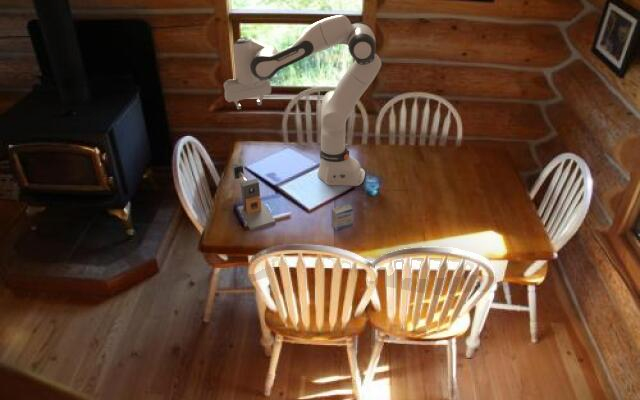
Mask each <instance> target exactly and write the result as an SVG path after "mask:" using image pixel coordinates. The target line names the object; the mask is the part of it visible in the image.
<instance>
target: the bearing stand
mask: <svg viewBox="0 0 640 400" xmlns="http://www.w3.org/2000/svg"><path fill="white" fill-rule="evenodd" d="M240 189H241V190H240V192H241V199H242V205H239V206H237V210H238V209H239V211H240V212H241V214H242V216H243V217H244V219H245V221H246V222H247V224H248V225H247V224H246V225H247V227H248V229H249V230H250V232H252V231H256V230H259V229H262V228H265V227H268V226H273V225H276V223H277V222H276V219H275V218H274V217H273V215H272V213H271V211H269V209H268V208H267V206H266V205H265V203H264V202H263V200H261V210H260V211H257V212H253V213H250V214H248V213H247V210H246V200H245V199H248V198H251V197H255V196H258V195H259V196H260V197H261V192H260V191H261V190H260V182H259V181H258V179H257V178H253V179H250V180H247V181H246V182H240ZM249 189H251V190H249ZM254 206H256V202H255V203H251V207H254ZM239 211H238V212H239ZM240 212H239V213H240ZM241 214H240V215H241ZM242 216H241V217H242ZM243 217H242V218H243ZM244 219H243V220H244ZM245 221H244V222H245ZM246 222H245V223H246Z"/></svg>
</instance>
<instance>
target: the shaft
mask: <svg viewBox="0 0 640 400" xmlns="http://www.w3.org/2000/svg"><path fill="white" fill-rule="evenodd" d="M231 168H232V176H233V178H234V179H235V180H237V179H240V180H241V181H242V182H246V181H248V179H247V178H246V176H245V173H244V165H243V164H242V162H241V161H239V162H236V163H232V164H231ZM242 182H241V183H242ZM249 190H251V189H249Z"/></svg>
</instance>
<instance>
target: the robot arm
mask: <svg viewBox="0 0 640 400" xmlns="http://www.w3.org/2000/svg"><path fill="white" fill-rule="evenodd" d="M336 45H338V46H339V45H346V46H347V47H348V53H349V54H350V55H351V57H352V59H354V61H353V63H352V64H351V66H349V68H348V69H347V71H346V72H345V73H344V75H342V77H341V79H340V80H339V82H338V83H337V85H336V87H335V89H334V90H329V91H327V92H326V93H325V95H324V96H323V98H322V100H321V110H320V123H321V124H320V125H321V126H320V128H321V129H320V148H319V159H320V161H319V167H318V170H317V177H318V178H319V179H320V180H322V181H323V182H324V184H325V185H327V186H346V187H347V186H349V187H350V186H352V187H355V186H356V187H358V186H360V185H362V183H363V182H364V181H365V177H366V172H365V170H364V168H362V167H361V164H360V162H359V161H358V160H357V159H355V158H354V157H353V156H351V155H350V148H348V149H347V148H346V128H347V127H346V123H347V120H348V118H349V117H350V116H351V114H352V113H353V110H354V109H355V106H356V105H357V103H358V101H359V100H360V98H361V97H362V95H364V93H365V91H366V90H367V89H368V88H369V86H370V85H371V84H372V83H373V81H374V80H375V78H376V77H377V75H378V74H379V71H380V70H381V67H382V60H381V58H380V57H379V55H377V53H376V49H377V44H376V37H375V33H374V30H373V29H372V27H371V26H370V25H369V24H368V23H366V22H362V21H350V19H349V18H348V17H347V16H346V15H345V14H344V15H343V14H339V15H338V14H337V15H333V16H330V17H325V18H323V19H321V20H319V21H316V22H314V23H312V24H310V25H308V26H307V27H305V29H304V30H303V32H301V35H300V36H299V37H298V39H297V40H296V41H295V42H294V43H292V44H291V45H290V46H288V47H285V48H284V49H282V50H279V51H278V49H277V48H275V46H273V45H271V44H265V43H262V42H259V41H257V40H255V39H254V38H252V37H250V36H243V37H241V38H239V39H237V40H236V41H235V42H234V44H233V59H234V63H235V69H234V70H235V77H236V78H232V79H227V80H226V81H224V82H223V90H224V98H225V101H227V102H228V103H232V102H234V103H235V106H236V109H237V110H241V109H242V105H241V104H240V103H239V101H242V100H246V99H250V98H257V97H258V99H256V104H257V105H258V106H261V105H262V101H263V100H264V98H265V97H264V96H266V95H271V92H272V86H271V82H270V80H271V79H272V78H273V77H274V76H275V75H276V74H277V73H278V72H280V71H281V70H282V69H284V68H287V67H289V66H291V65H293V64H296V63H297V62H300V61H301V60H303V59H305V58H307V57H310V56H312V55H314V54H317V53H320V52H322V51H325V50H327V49H329V48H332V47H334V46H336Z"/></svg>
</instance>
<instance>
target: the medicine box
mask: <svg viewBox="0 0 640 400" xmlns="http://www.w3.org/2000/svg"><path fill="white" fill-rule="evenodd" d="M353 215H354V208H352V206H351V205H350V204H349V203H346V204H342V205H340V206H336V207H333V208H331V216H330V217H331V220H330V221H331V222H330V223H331V224H330V225H331V226H332V228H334V229H335V231H338V230H341V229H344V228H348V227H349V226H350V227H351V226H353V219H354V218H353V217H354V216H353Z"/></svg>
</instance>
